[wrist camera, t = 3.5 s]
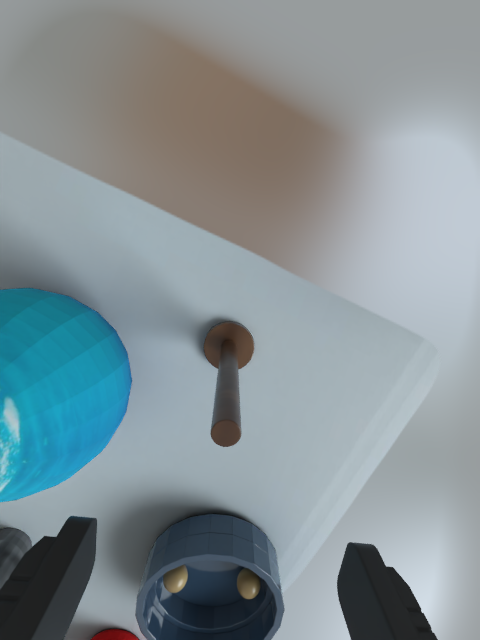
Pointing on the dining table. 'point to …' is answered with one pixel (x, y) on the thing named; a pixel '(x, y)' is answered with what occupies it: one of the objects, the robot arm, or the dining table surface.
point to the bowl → (210, 583)
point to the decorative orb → (55, 388)
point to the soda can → (114, 635)
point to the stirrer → (227, 377)
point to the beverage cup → (11, 551)
